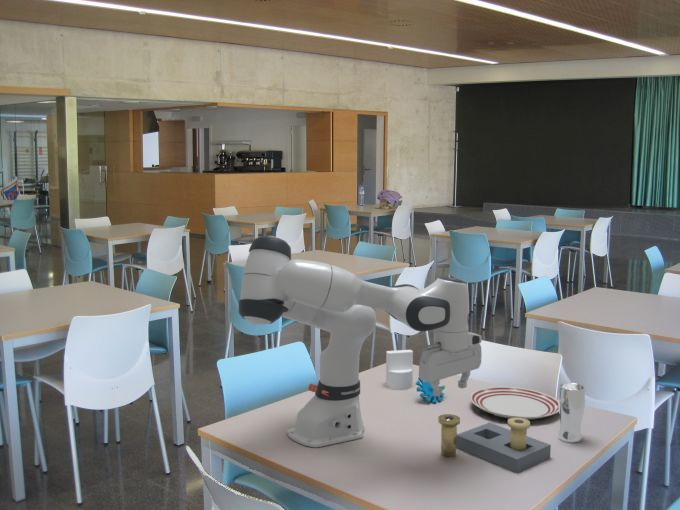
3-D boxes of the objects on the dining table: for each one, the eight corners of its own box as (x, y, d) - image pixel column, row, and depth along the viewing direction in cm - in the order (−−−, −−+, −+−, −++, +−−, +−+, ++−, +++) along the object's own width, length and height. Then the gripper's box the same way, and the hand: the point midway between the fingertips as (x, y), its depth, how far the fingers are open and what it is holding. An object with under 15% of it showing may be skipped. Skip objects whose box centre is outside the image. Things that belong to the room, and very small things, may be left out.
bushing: (449, 460, 182) (449, 423, 180) (433, 454, 186) (433, 417, 185) (463, 455, 185) (464, 418, 184) (447, 448, 190) (448, 412, 188)
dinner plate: (532, 392, 235) (532, 382, 235) (579, 421, 209) (579, 411, 209) (455, 398, 229) (456, 388, 229) (493, 430, 203) (494, 419, 202)
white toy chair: (390, 390, 236) (390, 356, 235) (383, 382, 245) (383, 348, 243) (415, 389, 238) (416, 354, 236) (407, 380, 247) (408, 347, 245)
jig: (550, 457, 184) (551, 420, 182) (516, 472, 175) (518, 434, 174) (489, 434, 199) (490, 400, 198) (455, 447, 190) (456, 411, 189)
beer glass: (552, 434, 199) (555, 382, 197) (576, 433, 200) (579, 382, 198) (562, 444, 192) (564, 390, 190) (587, 443, 193) (589, 390, 191)
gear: (423, 401, 221) (413, 373, 227) (414, 410, 225) (405, 382, 231) (451, 401, 226) (441, 373, 232) (442, 409, 230) (432, 382, 236)
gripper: (431, 349, 172) (430, 403, 174) (486, 335, 185) (485, 386, 187) (413, 343, 177) (412, 396, 179) (467, 330, 190) (466, 380, 192)
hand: (450, 391), depth 183 cm, fingers open, 8 cm apart
